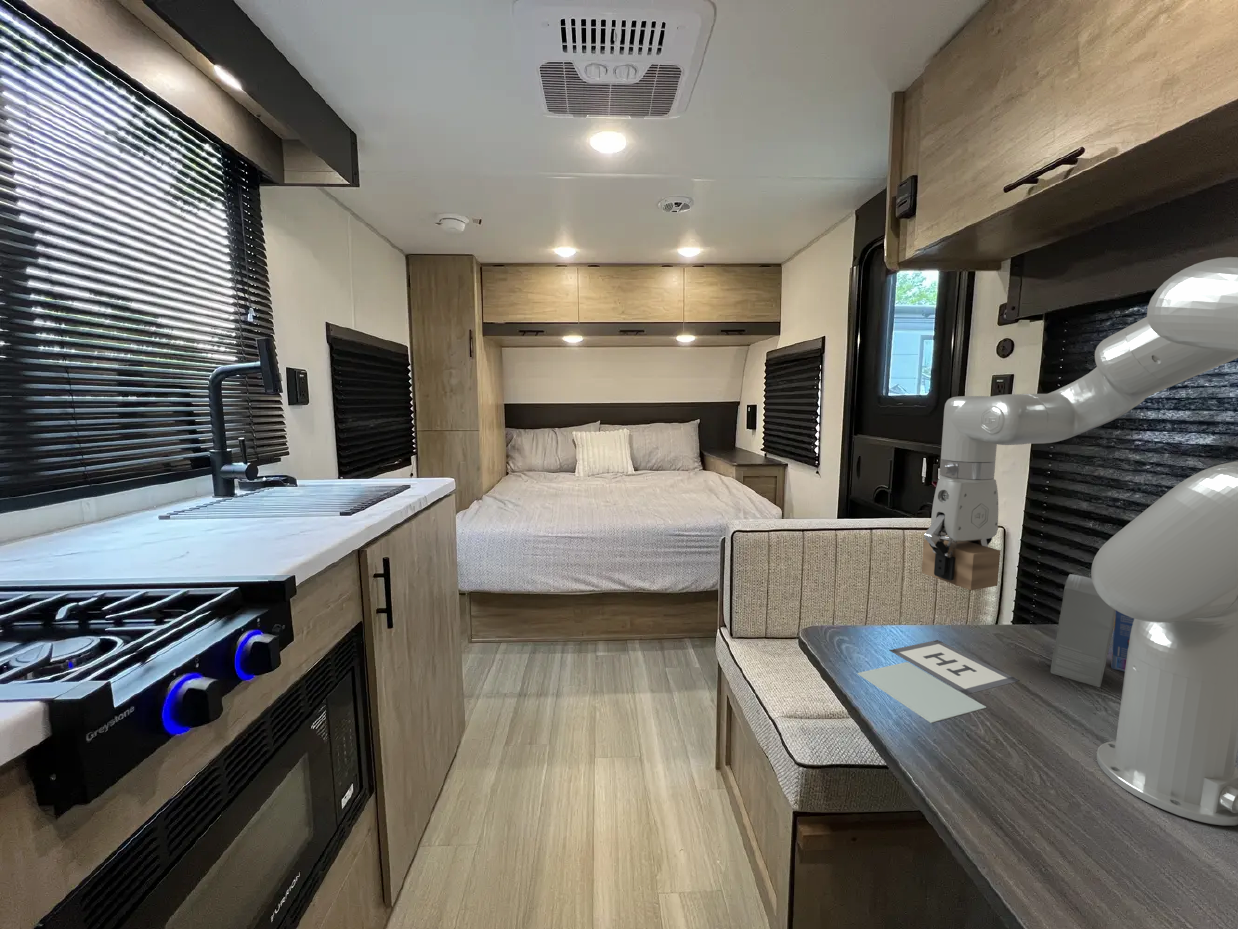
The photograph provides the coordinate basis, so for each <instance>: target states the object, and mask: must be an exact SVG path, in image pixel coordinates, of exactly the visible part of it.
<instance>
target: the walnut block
mask: <svg viewBox="0 0 1238 929" xmlns="http://www.w3.org/2000/svg"><path fill="white" fill-rule="evenodd" d="M948 542H949V541H945V540H944V545H945V546H946V547H947V545H948ZM1001 552H1002V551H1001V550H1000V549H997V548H992V547H990V546H988V547H986V546H982V545H979V544H975V543H971V542H968V541H967V542H957V544H956V547H955V550H954V552H953V555H952V557H955V568H954V579H953V580H950V581H949V580H946V579H943V578H941V577H938V576H935V575H934V566H935V553H933V549H932V547H931V546H930V544H929V543H928V541H927V540H926V539H923V549H922V562H921V573H922V574H925V575H927V576H930V577H931V578H936V579H939V580H940V581H943V582H947V583H949V584H951V585H954V586H957V587H959V588H960V587H961V588H963V589H966V590H969V591H975V590H982V589H988V588H993V587H998V586H999V585H998V583H999V571H1000V560H1001Z"/></svg>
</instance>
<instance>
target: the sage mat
mask: <svg viewBox="0 0 1238 929" xmlns="http://www.w3.org/2000/svg"><path fill="white" fill-rule="evenodd" d="M857 675H859V676H860V677H861V678H863V679H865V680H866V681H868V682H869V683H870V684H872V686H875V687H876V688H878V689H879V690H881V691H882V692H884V693H885V694H887V695H888V696H890V697H892V699H894V700H896V701H897V702H899V703H900V704H902V705H903V706H905V707H907V708H908V709H909V710H911V711H912V712H913V713H915V714H916V715H918V716H919V717H922V718H923V719H925V721H927V722H929V723H930V724H933V723H937V722H941V721H943V720H947V719H951V718H955V717H959V716H962V715H965V714H971V713H973V712H976V711H981V710H984V709H987V706H986V705H983V704H982V703H980V702H978V701H976V700H975V699H973V698H971V697H970V696H968V695H966V694H965V693H963V692H961V691H959V690H958V689H956V688H954V687H952V686H951V685H949V684H947V683H945V682H944V681H942V680H940V679H938V678H936V677H935V676H933V675H931V674H929V673H928V672H926V671H924V670H922V669H921V668H919V667H917V666H915V665H914V664H912V663H910V662H908V661H906V662H905V661H904V662H902V663H896V664H892V665H887V666H882V667H879V668H878V667H877V668H873V669H870V670H865V671H861V672H857Z"/></svg>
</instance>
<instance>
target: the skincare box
mask: <svg viewBox="0 0 1238 929" xmlns="http://www.w3.org/2000/svg"><path fill="white" fill-rule="evenodd" d="M1060 608H1061V609H1060V614H1059V615H1060V616H1059V620H1058V626H1057V632H1056V637H1055V642H1054V648H1053V653H1052V659H1051V664H1050V673H1051V674H1053V675H1056V676H1061V677H1062V678H1067V679H1068V680H1069V679H1070V680H1073V681H1076V682H1079V683H1084V684H1086V685H1091V686H1094V687H1097V688H1101V685H1102V682H1103V677H1104V672H1105V668H1106V665H1107V659H1108V655H1109V652H1110V651H1109V650H1110V647H1111V645H1110V644H1111V641H1112V638H1113V631H1114V621H1115V613H1116V610H1114V609H1113V608H1112V607H1110V606H1109V605H1108V604H1107V603H1105V602H1104V601H1103V600H1102V598H1101V597H1100V596H1099V594H1098V593H1097V591H1096V589H1095V587H1094V584H1093V581H1092V577H1087V576H1083V575H1078V574H1073V573H1072V574H1071V573H1069V575H1068V577H1067V579H1066V582H1065V584H1064V591H1063V597H1062V604H1061V607H1060Z"/></svg>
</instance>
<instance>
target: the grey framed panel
mask: <svg viewBox="0 0 1238 929" xmlns="http://www.w3.org/2000/svg"><path fill="white" fill-rule="evenodd" d="M889 651H890V652H891V653H893V654H895V655H896V656H898V657H900V658H902V659H904V660H905V661H906V662H909V663H910V664H912V665H914V666H916V667H917V668H919V669H921V670H923V671H924V672H926V673H928V674H930V675H931V676H933V677H935V678H937V679H938V680H940V681H942V682H944V683H945V684H947V685H949V686H951V687H952V688H954V689H956V690H958V691H959V692H961V693H963V694H965V695H966V696H968V695H971V694H973V693H978V692H982V691H985V690H989V689H993V688H997V687H1002V686H1004V685H1009V684H1013V683H1016V682H1020V679H1018V678H1016V677H1013V676H1011V675H1010V674H1007V673H1006V672H1004V671H1001V670H1000V669H999V668H998V669H997V668H996V667H993V666H992V665H989V664H988V663H985V662H983V661H981V660H979V659H978V658H975V657H973V656H971V655H969V654H967V653H964V652H963V651H961V650H959V649H956V648H955V647H954V646H951V645H948V644H947V643H946V642H943V641H940V640H938V639H936V640H932V641H926V642H921V643H917V644H913V645H912V644H911V645H908V646H907V645H906V646H903V647H898V648H892V649H889V650H888V652H889Z"/></svg>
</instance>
